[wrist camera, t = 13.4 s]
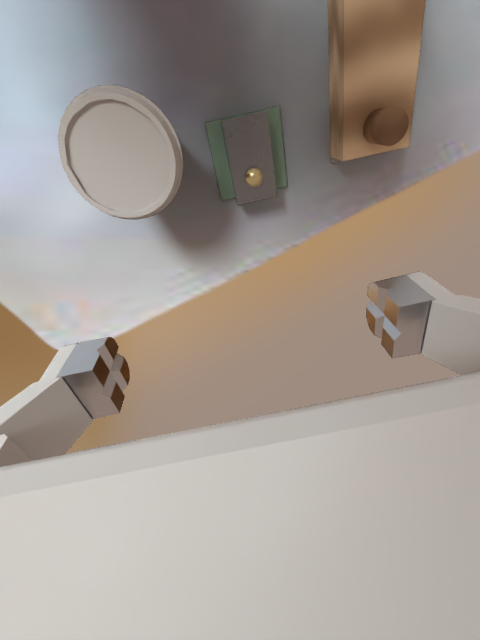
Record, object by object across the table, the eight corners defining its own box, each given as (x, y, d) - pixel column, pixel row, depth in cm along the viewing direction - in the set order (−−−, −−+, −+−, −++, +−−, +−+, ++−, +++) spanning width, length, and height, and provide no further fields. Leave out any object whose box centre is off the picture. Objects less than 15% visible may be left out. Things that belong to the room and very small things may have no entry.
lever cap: (220, 121, 32) (221, 121, 29) (262, 111, 32) (268, 110, 29) (235, 199, 37) (238, 206, 34) (272, 190, 37) (278, 197, 34)
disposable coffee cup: (95, 83, 30) (41, 68, 20) (193, 105, 32) (187, 100, 22) (101, 186, 35) (60, 214, 25) (185, 200, 37) (177, 231, 27)
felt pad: (204, 122, 33) (204, 122, 32) (278, 105, 32) (279, 105, 32) (221, 199, 37) (221, 200, 37) (286, 185, 37) (287, 186, 36)
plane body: (326, -120, 24) (378, -224, 17) (413, -142, 24) (505, -256, 17) (330, 162, 36) (363, 175, 29) (389, 149, 36) (437, 158, 28)
